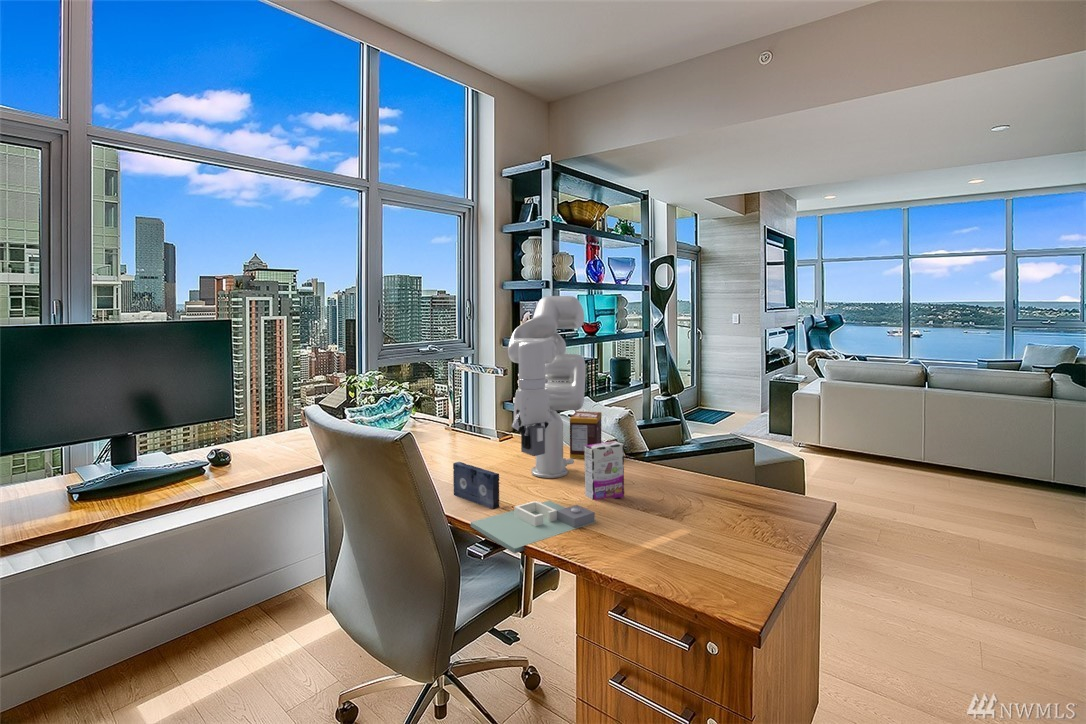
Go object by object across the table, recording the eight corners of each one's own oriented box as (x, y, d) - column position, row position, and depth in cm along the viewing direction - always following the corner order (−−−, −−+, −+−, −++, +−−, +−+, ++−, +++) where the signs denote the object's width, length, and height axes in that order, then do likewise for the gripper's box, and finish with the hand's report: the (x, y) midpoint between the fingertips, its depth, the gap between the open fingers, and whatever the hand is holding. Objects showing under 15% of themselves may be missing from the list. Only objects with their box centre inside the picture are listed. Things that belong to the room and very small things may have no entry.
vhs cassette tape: (500, 507, 154) (499, 473, 153) (492, 510, 151) (491, 475, 151) (461, 492, 166) (460, 461, 166) (453, 495, 164) (452, 463, 163)
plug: (532, 449, 160) (532, 422, 159) (546, 454, 154) (546, 426, 153) (521, 451, 157) (520, 424, 156) (535, 456, 152) (534, 429, 151)
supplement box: (601, 449, 217) (601, 411, 216) (596, 459, 202) (596, 418, 201) (576, 448, 220) (576, 410, 218) (569, 458, 205) (569, 417, 203)
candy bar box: (614, 492, 165) (615, 440, 164) (624, 497, 161) (625, 443, 159) (583, 498, 160) (583, 444, 159) (592, 504, 156) (593, 448, 154)
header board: (549, 504, 155) (549, 492, 155) (597, 525, 140) (597, 512, 139) (470, 526, 140) (470, 512, 139) (514, 553, 124) (514, 538, 124)
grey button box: (576, 513, 145) (576, 502, 145) (594, 521, 140) (594, 510, 139) (556, 519, 141) (556, 508, 141) (574, 528, 135) (574, 516, 135)
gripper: (547, 379, 162) (547, 439, 164) (500, 385, 152) (501, 449, 154) (563, 382, 156) (563, 444, 158) (515, 389, 146) (516, 455, 148)
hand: (532, 446), depth 156 cm, fingers closed on plug, 4 cm apart
